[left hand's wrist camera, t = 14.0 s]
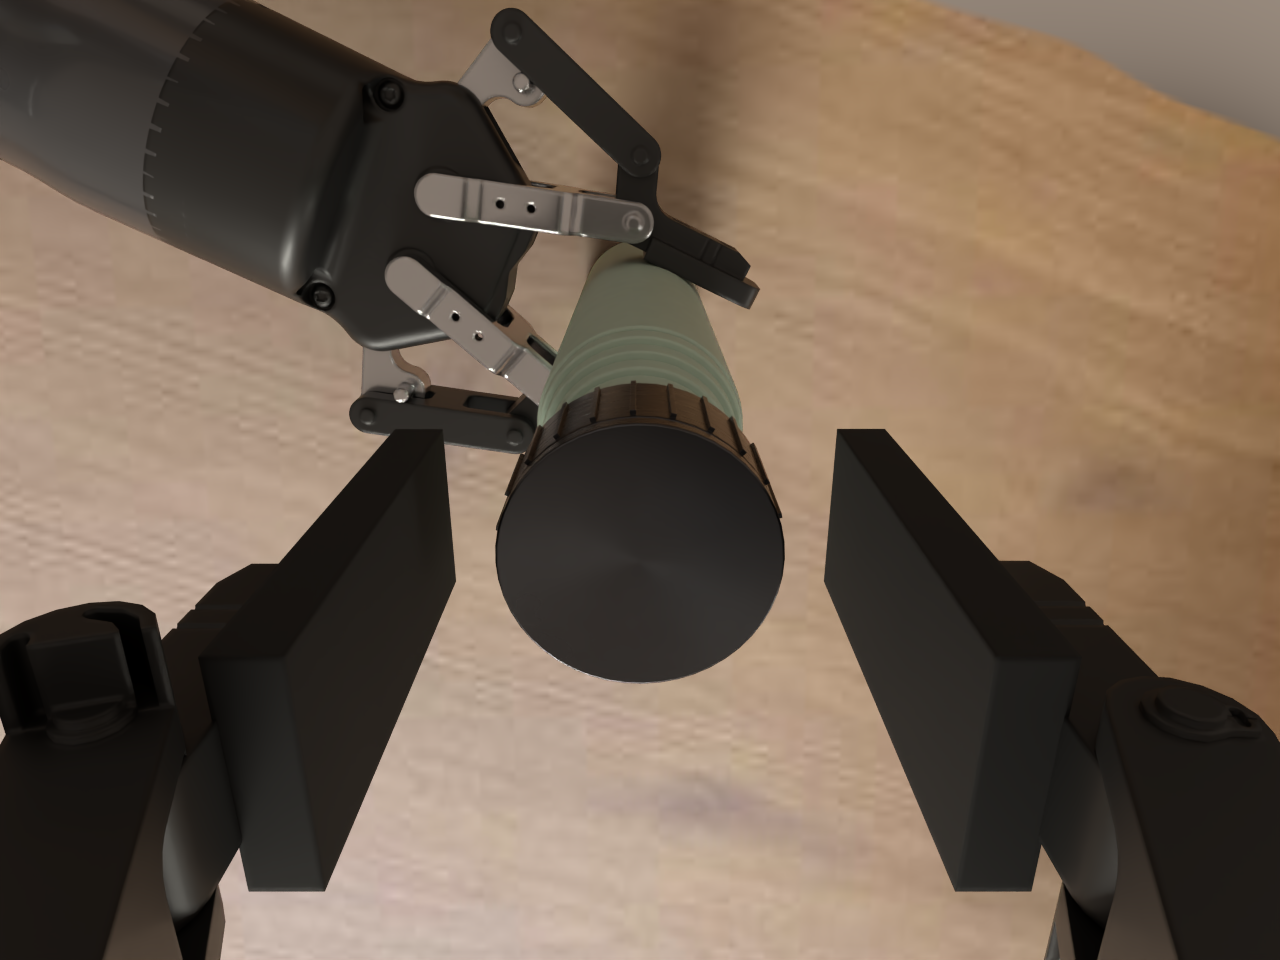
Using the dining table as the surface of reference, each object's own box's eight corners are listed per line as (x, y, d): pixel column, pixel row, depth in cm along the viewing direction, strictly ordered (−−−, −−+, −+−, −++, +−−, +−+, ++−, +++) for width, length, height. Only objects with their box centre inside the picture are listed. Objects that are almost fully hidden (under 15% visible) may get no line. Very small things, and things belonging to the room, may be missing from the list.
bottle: (710, 326, 34) (823, 617, 13) (610, 365, 35) (564, 705, 14) (671, 221, 33) (728, 359, 12) (567, 264, 34) (443, 470, 12)
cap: (637, 321, 13) (636, 354, 11) (821, 499, 14) (850, 559, 12) (459, 504, 14) (430, 563, 12) (642, 657, 15) (643, 734, 13)
